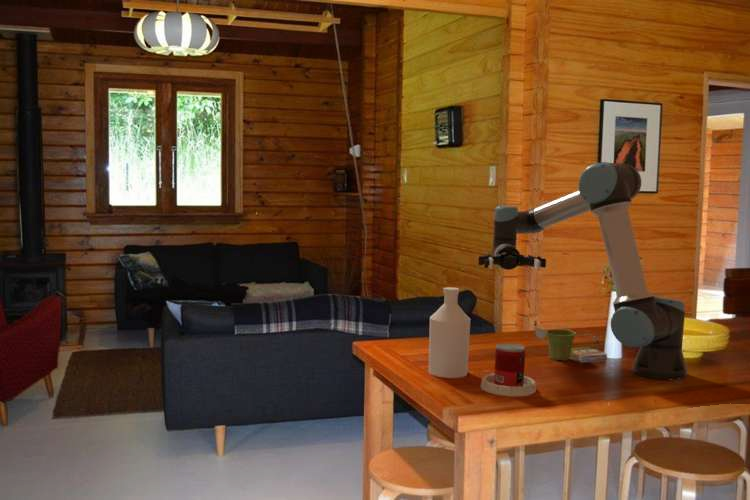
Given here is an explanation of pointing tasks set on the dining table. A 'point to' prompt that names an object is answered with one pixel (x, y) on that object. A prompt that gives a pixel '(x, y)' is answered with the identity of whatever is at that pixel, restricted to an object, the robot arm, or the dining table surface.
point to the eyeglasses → (542, 334)
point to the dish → (508, 387)
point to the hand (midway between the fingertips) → (515, 265)
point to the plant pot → (560, 343)
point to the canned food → (509, 364)
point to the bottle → (449, 338)
